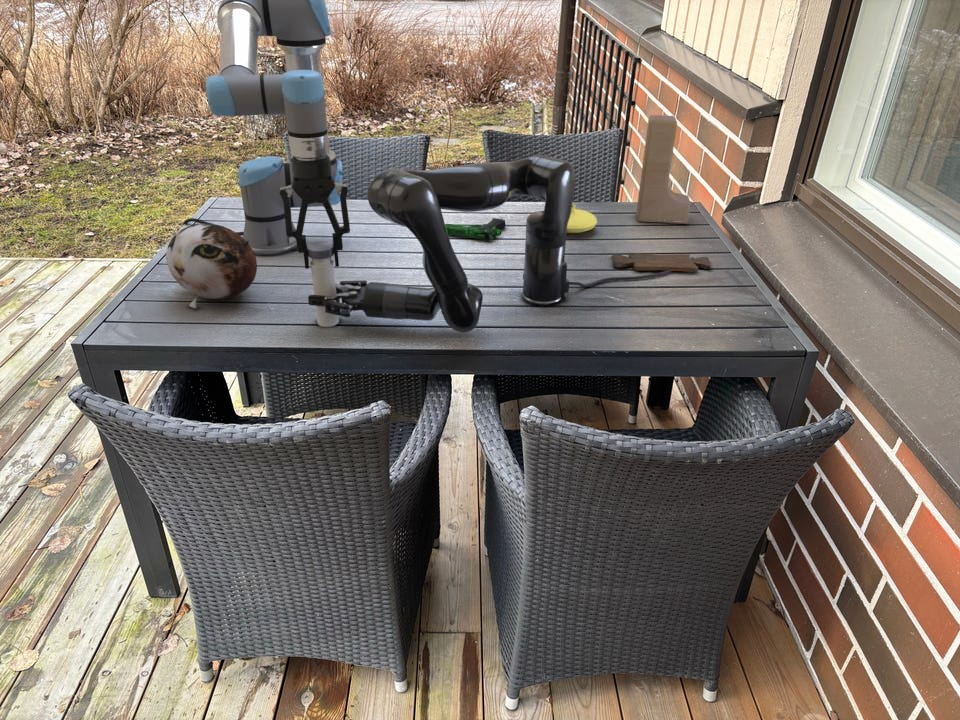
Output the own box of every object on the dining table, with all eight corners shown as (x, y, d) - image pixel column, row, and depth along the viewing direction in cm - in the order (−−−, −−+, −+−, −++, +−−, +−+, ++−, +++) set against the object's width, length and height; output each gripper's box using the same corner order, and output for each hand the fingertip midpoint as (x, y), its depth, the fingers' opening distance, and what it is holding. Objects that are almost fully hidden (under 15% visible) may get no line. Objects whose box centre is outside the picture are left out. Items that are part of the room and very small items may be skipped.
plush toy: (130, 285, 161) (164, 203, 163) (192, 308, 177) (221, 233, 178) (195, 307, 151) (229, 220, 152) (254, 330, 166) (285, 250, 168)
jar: (322, 328, 156) (314, 261, 148) (314, 320, 159) (306, 253, 151) (342, 323, 158) (336, 256, 150) (334, 315, 162) (327, 249, 153)
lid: (318, 247, 154) (318, 239, 153) (340, 252, 152) (339, 244, 151) (301, 255, 150) (300, 247, 149) (323, 261, 147) (322, 253, 147)
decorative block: (687, 224, 215) (705, 122, 200) (637, 221, 217) (650, 120, 202) (685, 216, 222) (701, 116, 206) (636, 213, 223) (648, 114, 208)
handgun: (511, 219, 210) (493, 234, 198) (511, 228, 211) (492, 244, 199) (461, 212, 215) (440, 226, 203) (461, 221, 217) (440, 236, 204)
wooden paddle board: (715, 274, 184) (705, 259, 193) (716, 268, 183) (706, 253, 192) (615, 271, 185) (610, 256, 193) (615, 265, 184) (610, 250, 192)
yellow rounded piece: (559, 216, 220) (561, 193, 217) (605, 227, 212) (608, 204, 209) (532, 230, 209) (533, 207, 206) (580, 242, 201) (582, 218, 198)
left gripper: (260, 163, 135) (276, 275, 147) (359, 159, 139) (367, 269, 151) (262, 152, 141) (277, 261, 153) (356, 148, 145) (364, 255, 157)
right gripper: (397, 271, 158) (323, 265, 160) (378, 299, 146) (298, 292, 148) (398, 302, 162) (326, 296, 164) (380, 332, 149) (303, 324, 152)
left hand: (322, 264), depth 152 cm, fingers closed on lid, 5 cm apart
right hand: (313, 294), depth 156 cm, fingers closed on jar, 4 cm apart
